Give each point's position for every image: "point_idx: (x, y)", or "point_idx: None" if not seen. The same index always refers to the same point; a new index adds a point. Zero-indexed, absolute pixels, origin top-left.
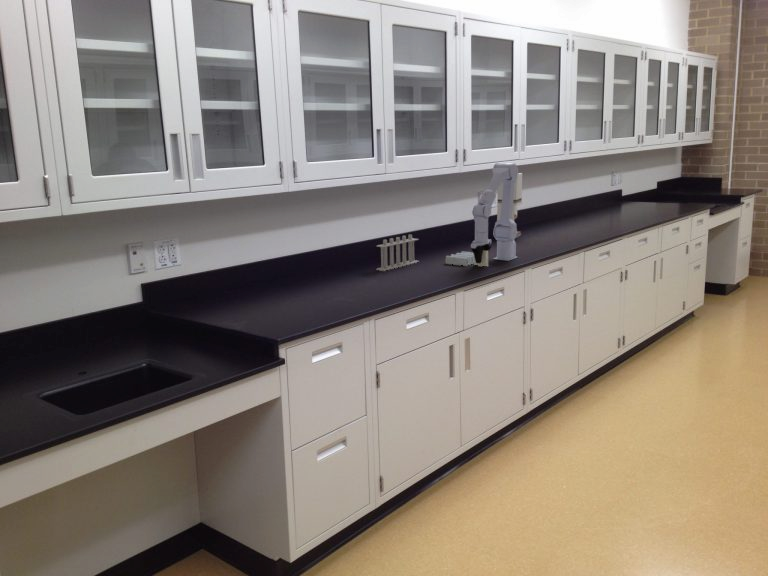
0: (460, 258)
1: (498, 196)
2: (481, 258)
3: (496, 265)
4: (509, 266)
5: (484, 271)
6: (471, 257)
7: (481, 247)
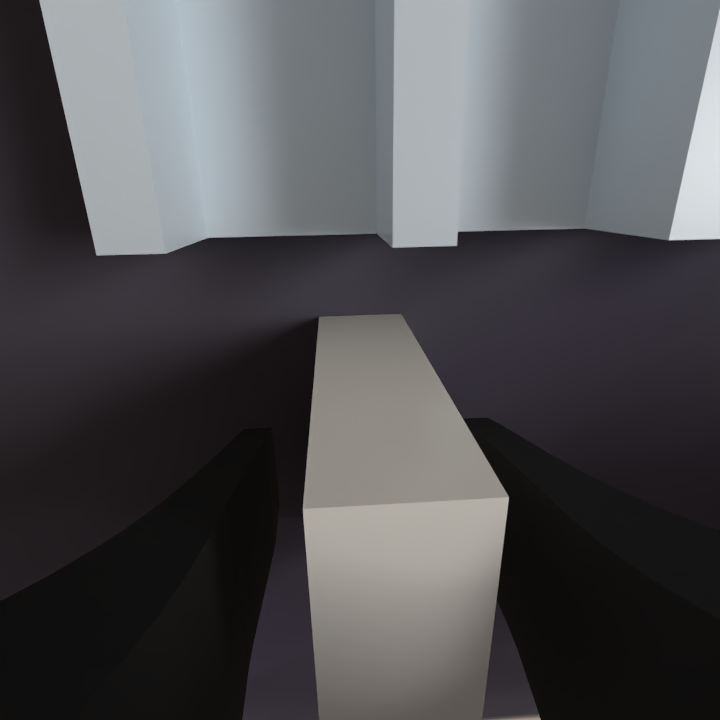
0: (52, 3)
1: None
2: (264, 591)
3: None
4: (517, 689)
5: None
6: (388, 238)
7: (664, 700)
